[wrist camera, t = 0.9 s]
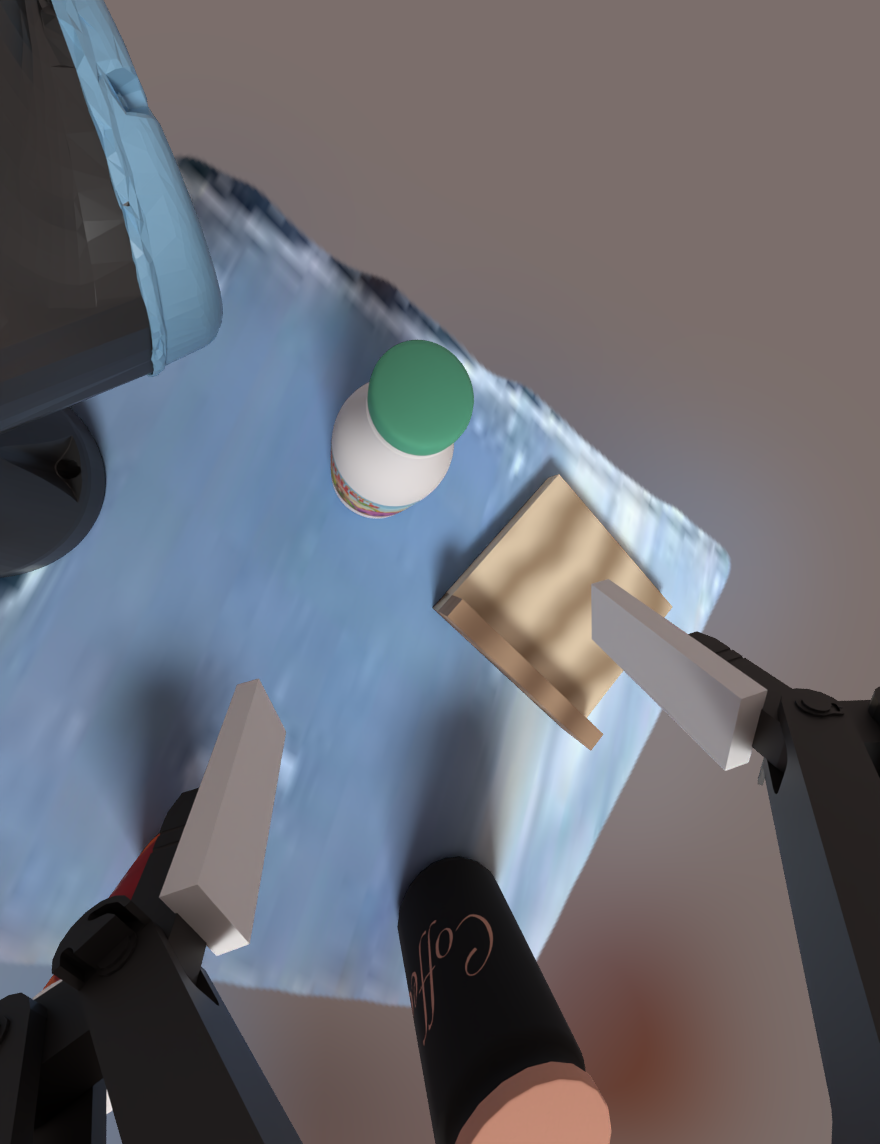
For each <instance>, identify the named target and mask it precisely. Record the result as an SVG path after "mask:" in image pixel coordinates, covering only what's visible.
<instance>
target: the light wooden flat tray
mask: <svg viewBox="0 0 880 1144" xmlns="http://www.w3.org/2000/svg"><path fill="white" fill-rule="evenodd" d="M607 579H609V580H611V581H612V582H614V583H615V584H617V585H618V586H619V587H621V588H622V589H624V590H625V591H627V592H628V593H629V594H631V595H632V596H634V597H635V598H637V599H638V600H639V601H641V602H642V603H644V604H645V605H647V606H648V607H649V608H651V609H652V610H654V611H655V612H657V613H658V614H660V615H661V616H662V617H665V616H666V615H667V613H668V612H669V611H670V609H671V608H672V606H671V605H670V603H669V602H668V601H667V600H666V599H665V598H664V596H663V595H662V594H661V593H660V592H659V591H658V589H657V588H656V587H655V586H654V585H653V584H652V582H651V581H650V580H649V579H648V578H647V577H646V575H645V574H644V573H643V572H642V571H641V570H640V568H639V567H638V566H637V565H636V564H635V562H634V561H633V560H632V559H631V558H630V557H629V555H628V554H627V553H626V552H625V551H624V550H623V548H622V547H621V546H620V545H619V544H618V543H617V541H616V540H615V539H614V538H613V537H612V536H611V534H610V533H609V532H608V531H607V530H606V529H605V527H604V526H603V525H602V524H601V523H600V521H599V520H598V519H597V518H596V517H595V516H594V514H593V513H592V512H591V511H590V510H589V509H588V507H587V506H586V505H585V504H584V503H583V502H582V500H581V499H580V498H579V497H578V496H577V495H576V493H575V492H574V491H573V490H572V489H571V487H570V486H569V485H568V484H567V483H566V482H565V480H564V479H563V478H562V477H561V476H560V475H559V474H558V475H555V476H552V477H549V478H548V479H547V480H546V481H545V482H544V483H543V484H542V485H541V486H540V488H539V489H538V490H537V491H536V492H535V493H534V494H533V495H532V497H531V498H530V499H529V500H528V501H527V502H526V503H525V504H524V506H523V507H522V508H521V509H520V510H519V511H518V512H517V513H516V515H515V516H514V517H513V518H512V519H511V520H510V521H509V522H508V524H507V525H506V526H505V527H504V528H503V529H502V530H501V531H500V533H499V534H498V535H497V536H496V537H495V538H494V539H493V540H492V542H491V543H490V544H489V545H488V546H487V547H486V548H485V549H484V551H483V552H482V553H481V554H480V555H479V556H478V557H477V558H476V560H475V561H474V562H473V563H472V564H471V565H470V566H469V567H468V569H467V570H466V571H465V572H464V573H463V574H462V575H461V576H460V578H459V579H458V580H457V581H456V582H455V583H454V584H453V585H452V587H451V588H450V589H449V590H448V591H447V592H446V593H445V594H444V596H443V597H442V598H441V599H440V600H439V601H438V602H437V603H436V605H435V606H434V607H433V609H434V610H435V611H436V612H437V613H438V614H439V615H441V616H442V617H443V618H444V619H445V620H446V621H447V622H448V623H449V624H450V625H451V626H452V627H453V628H455V629H456V630H457V631H458V632H459V633H460V634H461V635H462V636H463V637H464V638H465V639H466V640H467V641H469V642H470V643H471V644H472V645H473V646H474V647H475V648H476V649H477V650H478V651H479V652H480V653H481V654H483V655H484V656H485V657H486V658H487V659H488V660H489V661H490V662H491V663H492V664H493V665H494V666H495V667H497V668H498V669H499V670H500V671H501V672H502V673H503V674H504V675H505V676H506V677H507V678H508V679H509V680H511V681H512V682H513V683H514V684H515V685H516V686H517V687H518V688H519V689H520V690H521V691H522V692H523V693H525V694H526V695H527V696H528V697H529V698H530V699H531V700H532V701H533V702H534V703H535V704H536V705H537V706H539V707H540V708H541V709H542V710H543V711H544V712H545V713H546V714H547V715H548V716H549V717H550V718H551V719H553V720H554V721H555V722H556V723H557V724H558V725H559V726H560V727H561V728H562V729H564V730H565V731H566V732H567V733H569V734H570V735H571V736H573V737H574V738H575V739H576V740H578V741H579V742H580V743H582V744H583V745H584V746H585V747H587V748H588V749H589V750H592V749H593V747H594V746H595V745H596V743H597V742H598V741H599V739H600V738H601V737H602V735H603V733H602V732H600V731H599V730H598V729H597V728H596V727H595V726H594V725H593V724H592V723H591V722H590V721H589V720H588V719H587V717H588V716H589V714H590V713H591V712H592V710H593V709H594V708H595V706H596V705H597V704H598V703H599V701H600V700H601V699H602V697H603V696H604V695H605V694H606V692H607V691H608V690H609V688H610V687H611V686H612V684H613V683H614V682H615V681H616V679H617V678H618V677H619V675H620V674H621V673H622V672H623V669H622V668H620V667H619V666H618V665H617V664H616V663H615V662H614V661H613V660H612V659H611V658H610V657H609V656H608V655H607V654H606V653H605V652H604V651H603V650H602V649H601V648H600V647H599V646H598V645H597V644H596V643H595V642H594V641H593V640H592V610H591V584H593V583H596V582H600V581H603V580H607Z"/></svg>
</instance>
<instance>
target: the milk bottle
mask: <svg viewBox="0 0 880 1144" xmlns="http://www.w3.org/2000/svg"><path fill="white" fill-rule="evenodd" d="M473 404H474V395H473V388H472V384H471V381H470V378H469V375H468V373H467V371H466V370H465V368H464V366H463V365H462V363H461V362H460V361H459V360H458V359H457V357H456V356H455V355H453V354H452V353H451V352H450V351H449V350H447V349H446V348H444V347H442V346H440V345H438V344H436V343H433V342H430V341H425V340H410V341H405V342H402V343H400V344H397V345H395V346H394V347H392V348H391V349H389V350H388V351H387V352H386V353H385V354H384V355H383V356H382V357H381V358H380V359H379V361H378V362H377V364H376V366H375V368H374V370H373V372H372V375H371V378H370V381H369V383H367V384H365V385H363V386H361V387H360V388H359V389H357V390H356V391H355V392H354V393H353V394H352V395H351V396H350V397H349V398H348V399H347V400H346V401H345V403H344V404H343V406H342V408H341V409H340V411H339V413H338V416H337V418H336V420H335V424H334V428H333V434H332V440H331V478H332V483H333V486H334V489H335V492H336V494H337V495H338V497H339V499H340V500H341V501H342V502H343V504H344V505H345V506H346V507H348V508H349V509H350V510H352V511H353V512H355V513H356V514H359V515H361V516H364V517H368V518H386V517H389V516H393V515H395V514H397V513H399V512H401V511H403V510H405V509H407V508H409V507H410V506H412V505H414V504H415V503H417V502H419V501H420V500H422V499H423V498H425V497H426V496H427V495H429V494H430V493H431V492H432V491H433V490H434V489H435V488H436V487H437V486H438V485H439V483H440V482H441V481H442V479H443V478H444V476H445V474H446V473H447V471H448V468H449V466H450V463H451V459H452V455H453V448H454V442H455V441H456V440H457V439H458V438H459V437H460V436H461V435H462V434H463V432H464V431H465V429H466V428H467V426H468V424H469V421H470V419H471V415H472V411H473Z"/></svg>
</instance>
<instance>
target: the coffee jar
mask: <svg viewBox="0 0 880 1144" xmlns="http://www.w3.org/2000/svg"><path fill="white" fill-rule="evenodd" d="M398 933H399V939H400V944H401V950H402V956H403V961H404V967H405V973H406V978H407V984H408V990H409V996H410V1001H411V1007H412V1013H413V1018H414V1024H415V1030H416V1035H417V1041H418V1047H419V1053H420V1058H421V1063H422V1069H423V1075H424V1081H425V1087H426V1092H427V1098H428V1104H429V1109H430V1115H431V1120H432V1126H433V1132H434V1138H435V1143H436V1144H609V1143H610V1136H611V1124H610V1117H609V1111H608V1106H607V1104H606V1102H605V1100H604V1098H603V1097H602V1095H601V1093H600V1092H599V1090H598V1088H597V1086H596V1085H595V1083H594V1081H593V1080H592V1078H591V1076H590V1075H589V1074H588V1073H587V1072H586V1071H585V1064H584V1059H583V1056H582V1053H581V1051H580V1048H579V1047H578V1044H577V1042H576V1040H575V1039H574V1036H573V1034H572V1033H571V1030H570V1028H569V1026H568V1024H567V1022H566V1020H565V1018H564V1017H563V1014H562V1012H561V1010H560V1008H559V1006H558V1004H557V1002H556V1000H555V998H554V996H553V994H552V992H551V990H550V988H549V986H548V984H547V982H546V980H545V978H544V976H543V974H542V972H541V970H540V968H539V966H538V964H537V962H536V960H535V958H534V956H533V954H532V952H531V950H530V948H529V946H528V944H527V942H526V940H525V938H524V936H523V934H522V932H521V930H520V928H519V926H518V924H517V922H516V920H515V918H514V916H513V914H512V912H511V910H510V908H509V906H508V904H507V902H506V900H505V898H504V896H503V894H502V892H501V890H500V888H499V886H498V884H497V882H496V880H495V878H494V877H493V875H492V873H491V872H490V871H489V870H488V869H486V868H485V867H484V866H482V865H481V864H480V863H478V862H477V861H473V860H470V859H466V858H463V857H451V858H445V859H442V860H440V861H437V862H435V863H432V864H431V865H430V866H428V867H427V868H426V869H424V870H423V871H422V872H420V874H419V875H418V876H417V877H416V879H415V880H414V881H413V882H412V883H411V885H410V887H409V889H408V891H407V893H406V895H405V897H404V900H403V902H402V904H401V907H400V912H399V919H398Z"/></svg>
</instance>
